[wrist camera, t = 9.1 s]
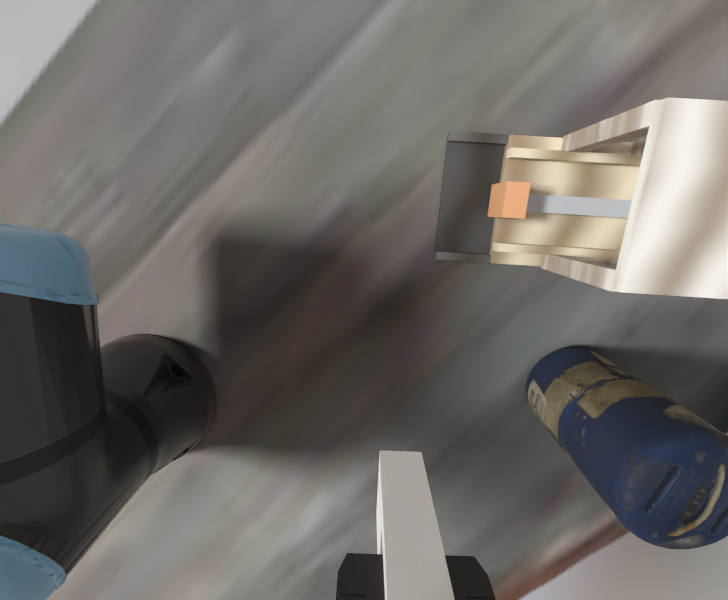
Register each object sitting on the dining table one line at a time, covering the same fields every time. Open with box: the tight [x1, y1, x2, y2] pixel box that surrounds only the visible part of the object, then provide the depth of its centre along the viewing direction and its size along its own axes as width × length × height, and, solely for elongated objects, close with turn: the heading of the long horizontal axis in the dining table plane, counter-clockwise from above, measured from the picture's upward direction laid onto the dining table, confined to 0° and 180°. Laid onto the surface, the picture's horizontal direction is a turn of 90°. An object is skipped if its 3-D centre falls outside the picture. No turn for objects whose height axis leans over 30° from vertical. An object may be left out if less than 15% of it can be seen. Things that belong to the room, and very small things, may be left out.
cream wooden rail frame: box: [434, 98, 728, 299], centre depth 29 cm, size 26×12×13 cm, turn 87°
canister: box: [526, 347, 728, 549], centre depth 31 cm, size 10×10×18 cm
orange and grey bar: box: [487, 181, 632, 219], centre depth 32 cm, size 21×7×4 cm, turn 87°
